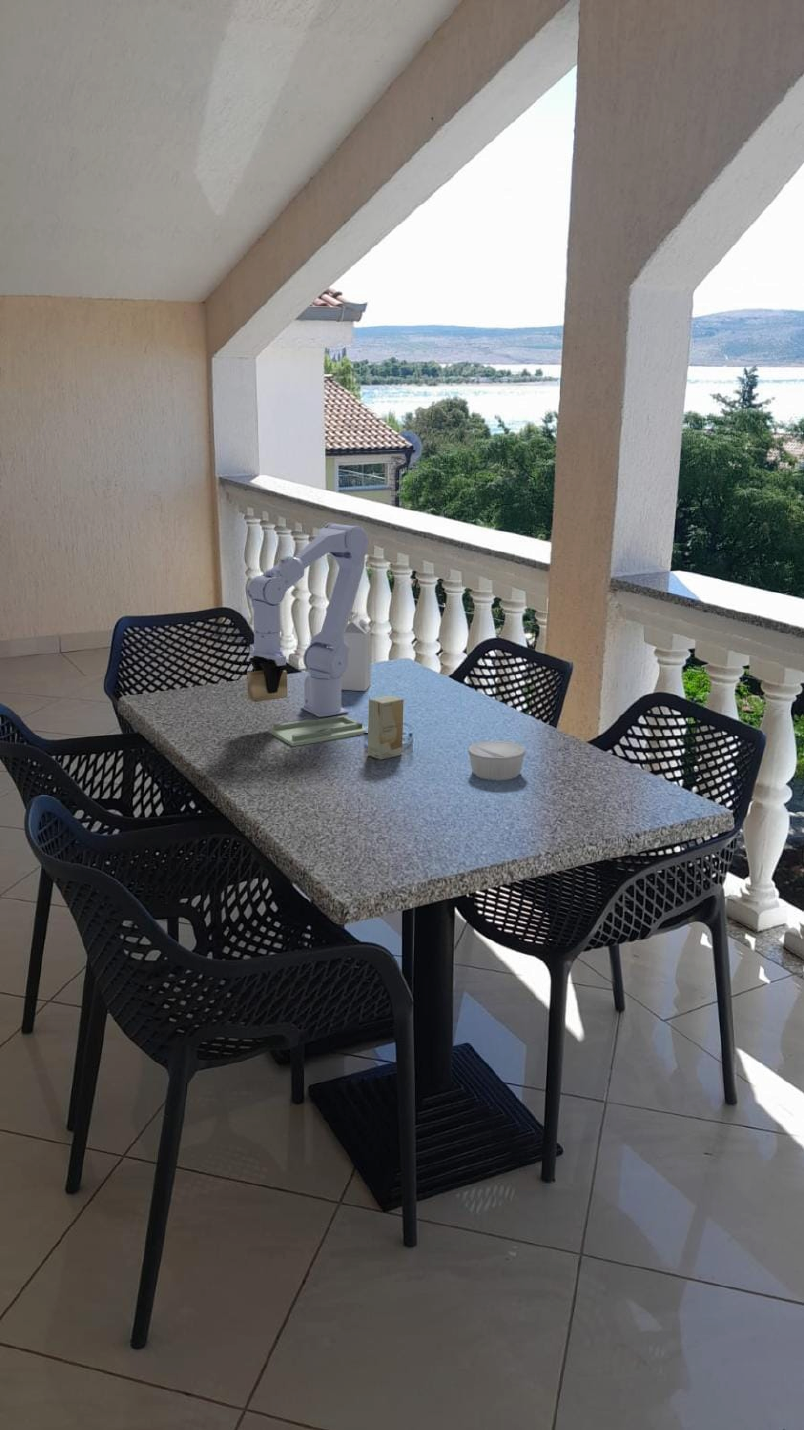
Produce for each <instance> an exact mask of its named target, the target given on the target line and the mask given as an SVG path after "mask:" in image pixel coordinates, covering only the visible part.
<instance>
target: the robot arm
mask: <svg viewBox="0 0 804 1430" xmlns="http://www.w3.org/2000/svg"><path fill="white" fill-rule="evenodd" d="M317 533H318V534H317V536H315V537H314V539H312V540H311V541H310V542H309V543H308V544H307V545H306V546H305V547H304V548H302V550H301V551H300V552H298V553H297V554H296V555H295V556H292V555H291V556H290V555H287V556H282V557H281V558H280V559H279V560H280V561H279V562H278V563H277V564H276V565H274V566H272V568H270V569H267V570H266V571H265V573H264V574H263V575H256V576H255V577H254V578H253V579H251V581H250V582H249V585H248V588H247V589H246V594H247V596H248V598H249V599H250V601H251V608H252V611H253V613H252V614H253V643H252V644H249V655H250V656H252V657H250V658H249V659H248V660H249V663H250V665H251V666H252V669H253V670H254V671H262V670H263V672H264V676H265V681H266V688H267V692H268V693H269V694H270V693H277V691H278V687H279V682H280V678H281V675H282V673H283V671H284V670H285V669H286V667H287V656H286V655H285V654H284V653H283V650H282V649H281V621H280V620H281V619H280V618H281V616H280V615H281V613H280V603H281V602H282V601H283V600H284V599H285V596H286V593H287V592H288V590H289V589H290V588H291V587H293V586H294V585H295V584H296V583H298V581H300V580H302V578H303V577H304V576H305V570H306V569H307V568H308V567H309V566H311V565H312V564H314V563H316V561H318V560H319V559H321V558H323V557H324V556H325V555H327V554H328V553H329V554H330V556H331V557H332V559H334V560H335V561H336V563H337V565H338V567H339V569H338V571H337V575H336V579H335V581H334V582H335V583H334V586H333V588H332V592H331V597H330V598H329V599H330V600H329V603H328V606H327V610H326V613H325V617H324V620H323V624H322V626H321V631H320V632H318V633H317V634H316V635H314V636H313V637H311V640H310V643H309V645H308V646H307V648H306V649H305V650H304V653H303V656H302V659H303V665H304V667H305V668H306V669H307V670H308V674H307V675H306V676H305V678H304V682H303V684H304V685H303V691H304V692H303V696H304V700H303V701H304V702H303V703H304V705H301V706H300V708H301V709H302V710H304V711H306V712H308V713H310V714H312V715H315V716H316V717H319V718H322V717H323V718H325V717H329V716H330V717H331V716H336V715H337V716H338V715H343V714H348V713H349V710H348V709H346V708H344V707H342V690H341V676H343V674H344V672H345V671H346V669H347V666H348V653H349V649H350V648H349V646H348V645H347V643H346V642H345V640H344V635H345V631H346V628H347V624H348V623H349V622H350V621H349V620H350V616H351V613H352V609H353V606H354V604H355V599H356V597H357V592H358V590H359V586H360V582H361V579H362V576H363V573H364V568H365V564H366V563H365V561H366V560H365V559H366V557H365V556H366V554H367V550H368V548H369V543H370V540H369V537H368V535H367V533H366V530H365V528H363V527H362V526H361V525H360V526H359V525H348V524H347V525H346V524H340V523H335V522H329V523H327V524H325V525H324V527H322V528H320V529H319V530H318V532H317ZM254 671H253V672H254Z"/></svg>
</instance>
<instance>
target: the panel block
mask: <svg viewBox="0 0 804 1430" xmlns="http://www.w3.org/2000/svg"><path fill="white" fill-rule="evenodd" d="M246 673H247V674H246V675H247V676H246V678H247V699H248V700H250V701H252V702H254V703H258V702H259V703H260V702H265V701H271V700H279V699H286V698H288V671H287V670H285V669H284V671H283V673H282V675H281V678H280V682H279V687H278V691H277V693H270V694H269V693H268V692H267V688H266V681H265V676H264V672H263V670H262V671H247V672H246Z"/></svg>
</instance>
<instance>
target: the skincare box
mask: <svg viewBox="0 0 804 1430" xmlns="http://www.w3.org/2000/svg"><path fill="white" fill-rule="evenodd" d="M404 700H405V699H404V698H401V697H398V696H394V695H391V694H390V695H385V696H379V697H375V698H374V697H373V698H369V699H368V723H367V724H368V728H367V729H368V734H367V755H368V756H370V757H373V758H375V759H377V760H381V761H382V760H385V759H390V758H394V757H397V756H402V755H403V735H404V732H403V731H404V729H403V728H404Z"/></svg>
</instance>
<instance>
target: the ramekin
mask: <svg viewBox="0 0 804 1430" xmlns="http://www.w3.org/2000/svg"><path fill="white" fill-rule="evenodd" d="M468 755H469V759H470V766H471V770H472V772H473V774H474V776H476V777H477V778H479V777H480V779H482V780H488V781H493V782H496V781H497V782H502V781H503V782H505V781H509V780H514V779H515V778H517V777H518V776H519V775H520V774H521V771H522V769H523V768H522V767H523V763H524V757H525V755H526V749H525V747H524V746H522V745H520V744H518V743H515V742H511V741H507V740H486V741H480V742H475V743H473V744H471V745H470V746H469V747H468ZM495 780H496V781H495Z"/></svg>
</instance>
